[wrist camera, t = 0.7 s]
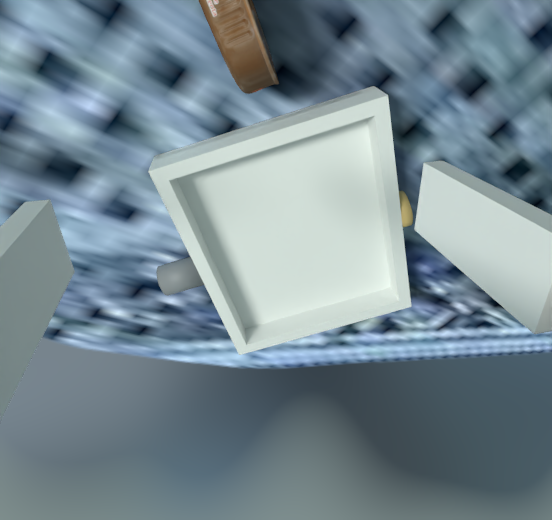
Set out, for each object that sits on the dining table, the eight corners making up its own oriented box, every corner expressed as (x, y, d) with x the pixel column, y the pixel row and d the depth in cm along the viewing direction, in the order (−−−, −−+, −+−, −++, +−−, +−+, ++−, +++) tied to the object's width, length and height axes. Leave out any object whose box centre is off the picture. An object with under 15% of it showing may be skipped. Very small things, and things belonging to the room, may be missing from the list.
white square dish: (385, 82, 33) (401, 91, 30) (408, 284, 46) (420, 304, 43) (111, 169, 35) (100, 187, 32) (206, 341, 47) (205, 365, 45)
